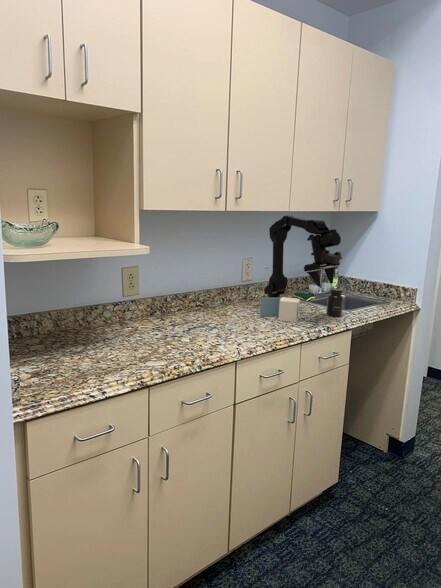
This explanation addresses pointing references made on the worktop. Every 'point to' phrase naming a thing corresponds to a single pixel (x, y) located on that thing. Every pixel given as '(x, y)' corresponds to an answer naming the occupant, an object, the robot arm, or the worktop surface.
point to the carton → (289, 309)
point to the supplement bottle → (335, 303)
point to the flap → (269, 306)
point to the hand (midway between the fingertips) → (325, 285)
